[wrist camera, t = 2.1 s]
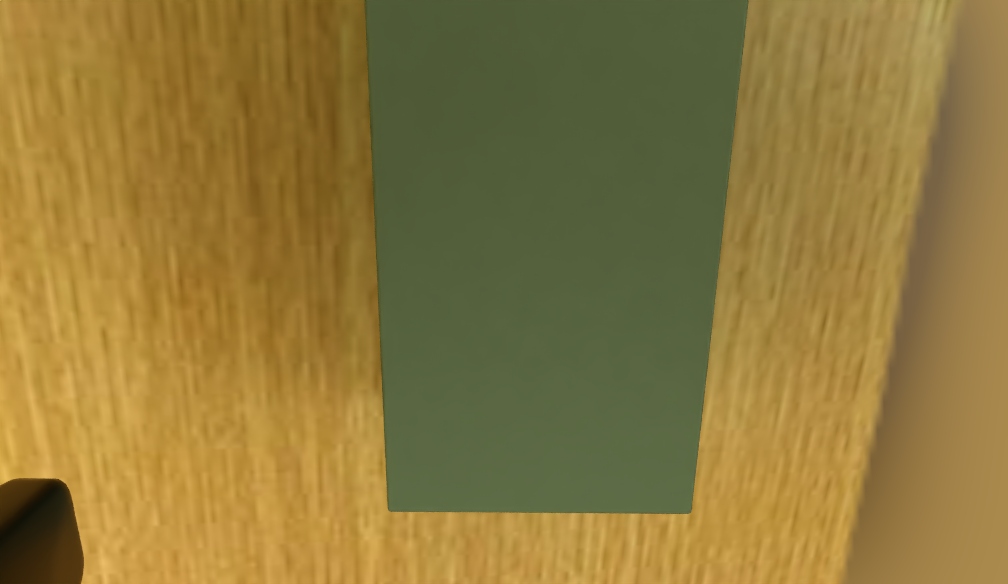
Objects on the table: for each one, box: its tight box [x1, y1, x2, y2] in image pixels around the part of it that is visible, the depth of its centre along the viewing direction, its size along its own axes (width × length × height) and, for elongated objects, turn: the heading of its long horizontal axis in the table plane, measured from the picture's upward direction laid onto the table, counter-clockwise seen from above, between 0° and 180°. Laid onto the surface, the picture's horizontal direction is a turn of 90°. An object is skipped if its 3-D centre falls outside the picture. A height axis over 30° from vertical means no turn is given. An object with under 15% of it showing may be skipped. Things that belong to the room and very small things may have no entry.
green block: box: [365, 0, 748, 514], centre depth 15 cm, size 9×5×4 cm, turn 179°
